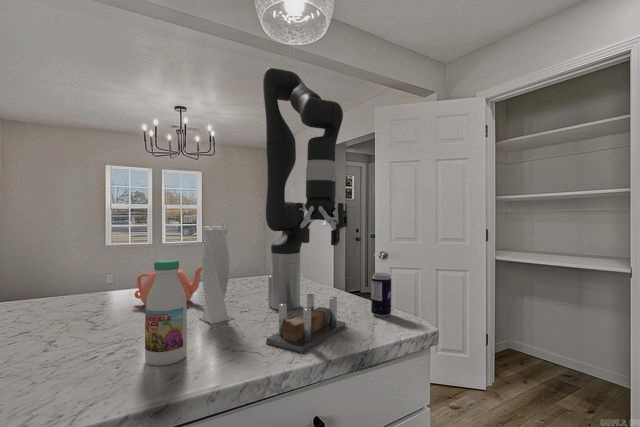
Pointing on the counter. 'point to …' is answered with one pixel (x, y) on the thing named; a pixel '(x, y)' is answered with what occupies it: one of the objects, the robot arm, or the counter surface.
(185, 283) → the teapot
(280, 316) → the peg rack
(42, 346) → the counter surface
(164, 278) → the milk bottle
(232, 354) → the counter surface
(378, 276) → the beverage can
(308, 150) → the robot arm
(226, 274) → the skyscraper
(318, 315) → the brown wooden bar
